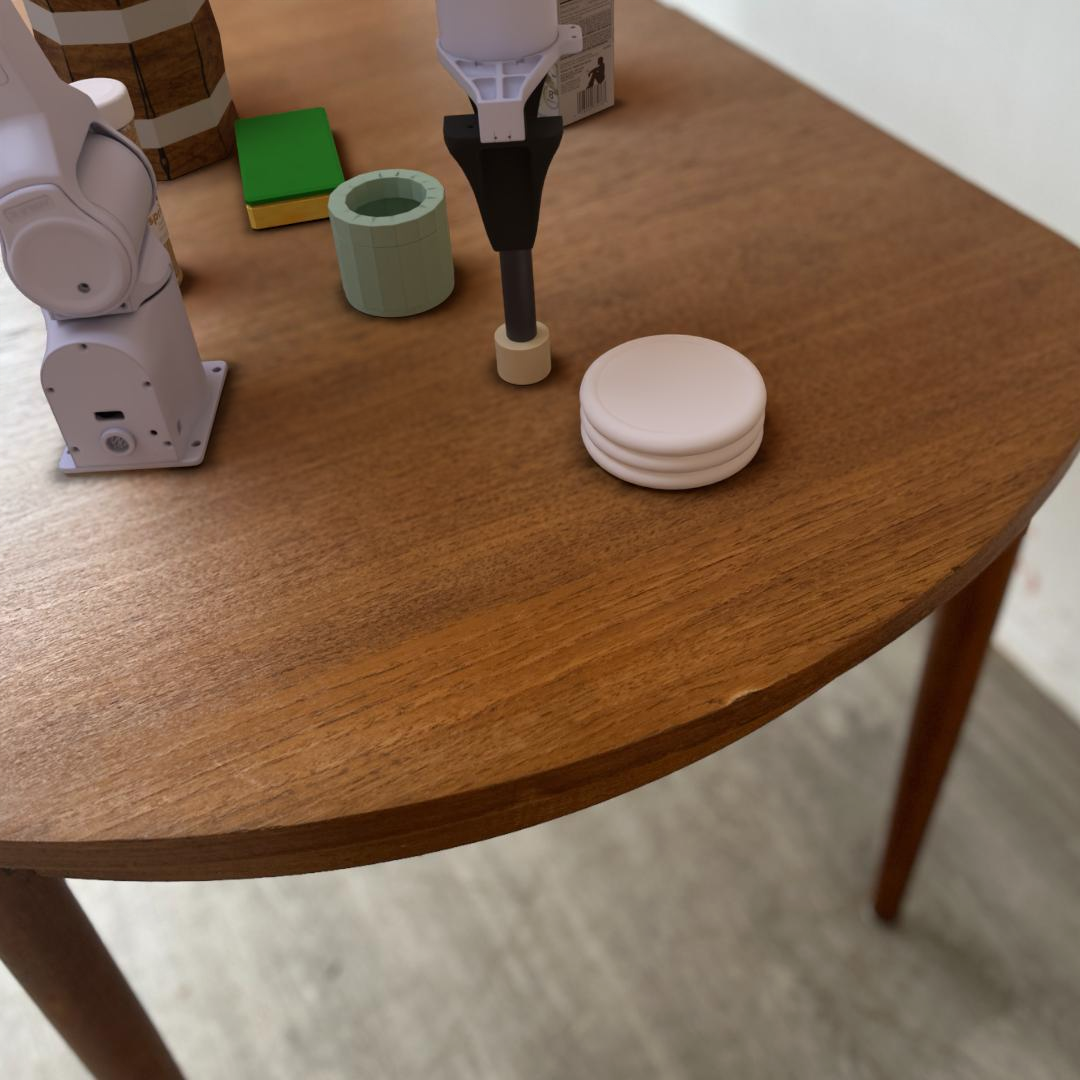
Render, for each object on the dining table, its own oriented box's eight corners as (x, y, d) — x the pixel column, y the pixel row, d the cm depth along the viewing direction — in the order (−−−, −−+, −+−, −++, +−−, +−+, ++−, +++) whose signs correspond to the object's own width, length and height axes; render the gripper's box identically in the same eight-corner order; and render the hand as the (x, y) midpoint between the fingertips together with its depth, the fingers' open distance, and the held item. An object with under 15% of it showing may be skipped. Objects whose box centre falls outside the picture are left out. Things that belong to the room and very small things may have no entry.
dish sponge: (329, 133, 95) (324, 104, 94) (351, 215, 86) (345, 184, 84) (240, 148, 94) (233, 118, 93) (252, 232, 85) (244, 200, 83)
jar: (453, 313, 76) (442, 221, 71) (340, 320, 76) (322, 229, 71) (455, 254, 81) (445, 165, 76) (350, 261, 81) (333, 172, 77)
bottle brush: (552, 383, 70) (542, 213, 62) (497, 386, 70) (481, 217, 62) (550, 351, 72) (540, 184, 65) (497, 355, 72) (481, 187, 65)
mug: (256, 161, 93) (209, -43, 82) (79, 198, 90) (6, -8, 79) (219, 68, 106) (173, -117, 96) (64, 98, 103) (0, -90, 93)
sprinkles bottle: (194, 289, 80) (136, 92, 70) (128, 313, 78) (60, 114, 69) (170, 261, 82) (111, 68, 73) (106, 283, 81) (37, 88, 71)
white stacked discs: (562, 397, 69) (559, 347, 66) (726, 367, 70) (730, 316, 68) (608, 510, 62) (607, 458, 59) (790, 474, 63) (796, 422, 61)
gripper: (588, -9, 49) (595, 277, 59) (571, -114, 60) (579, 144, 69) (417, 2, 49) (452, 286, 59) (430, -104, 60) (458, 151, 69)
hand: (512, 210), depth 64 cm, fingers open, 7 cm apart
